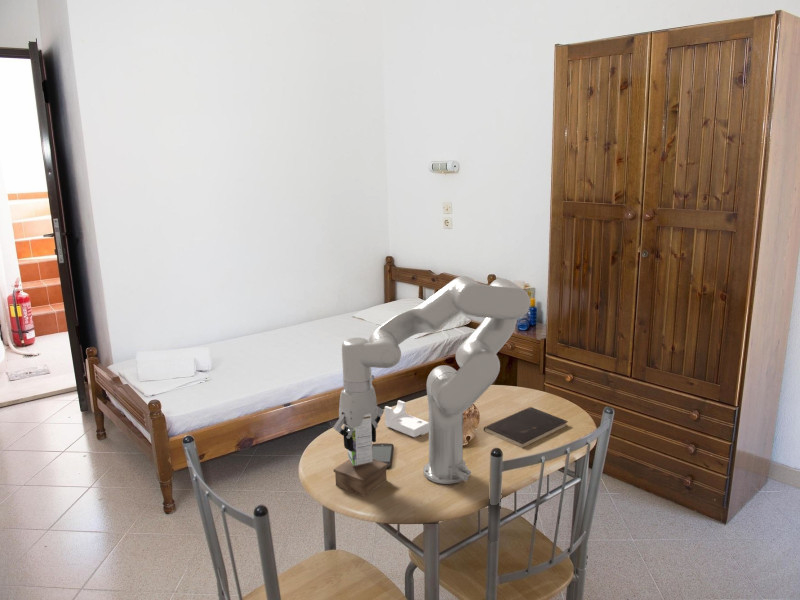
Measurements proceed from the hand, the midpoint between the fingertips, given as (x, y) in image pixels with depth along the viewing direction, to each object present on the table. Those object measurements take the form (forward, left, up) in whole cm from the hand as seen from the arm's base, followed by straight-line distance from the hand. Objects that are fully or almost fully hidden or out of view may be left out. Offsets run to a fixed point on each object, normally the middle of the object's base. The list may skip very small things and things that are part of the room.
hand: (360, 444), depth 172 cm
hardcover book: (-9, -60, -12) cm, 62 cm away
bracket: (+17, -31, -12) cm, 37 cm away
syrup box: (+1, 0, -5) cm, 5 cm away
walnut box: (0, 0, -12) cm, 12 cm away
